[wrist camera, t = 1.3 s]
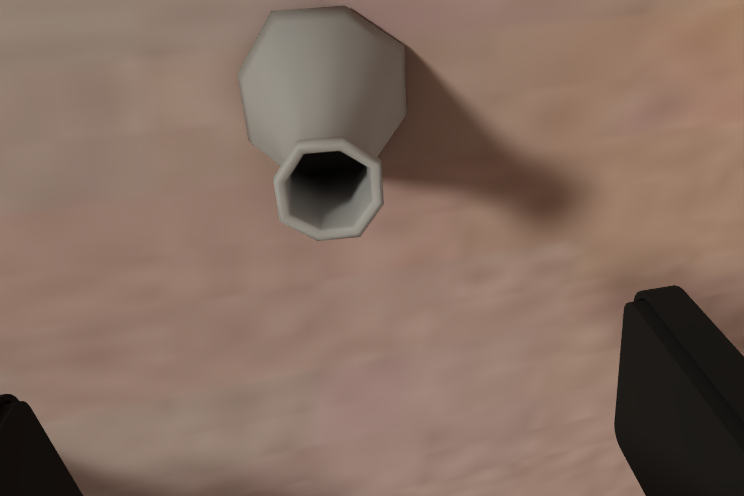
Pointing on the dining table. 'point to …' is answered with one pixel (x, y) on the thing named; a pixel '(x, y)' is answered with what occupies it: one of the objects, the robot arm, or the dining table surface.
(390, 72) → the flask
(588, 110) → the dining table surface
